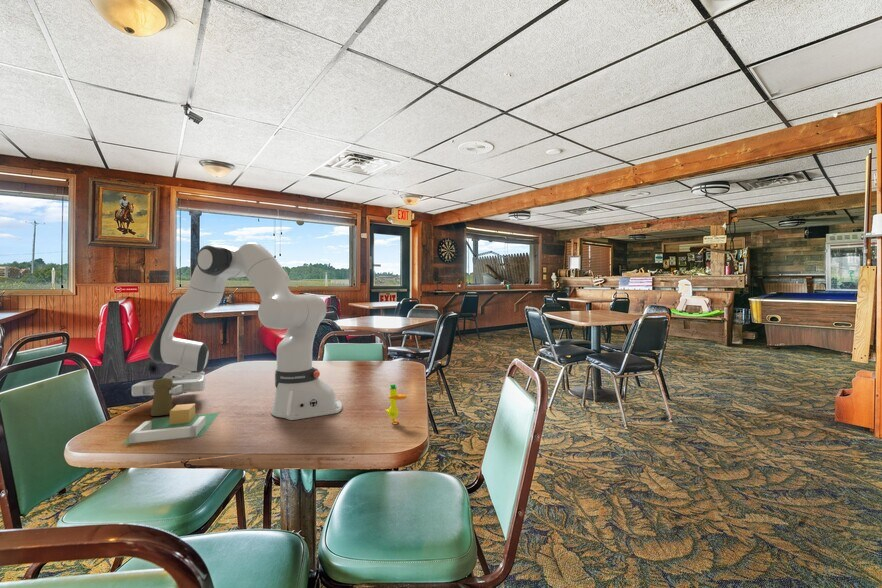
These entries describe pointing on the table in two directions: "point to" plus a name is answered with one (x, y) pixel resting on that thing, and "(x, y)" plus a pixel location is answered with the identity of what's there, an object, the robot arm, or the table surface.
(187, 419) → the yellow block
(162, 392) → the cork
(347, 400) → the table surface
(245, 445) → the table surface
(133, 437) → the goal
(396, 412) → the toy figure
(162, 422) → the mat
